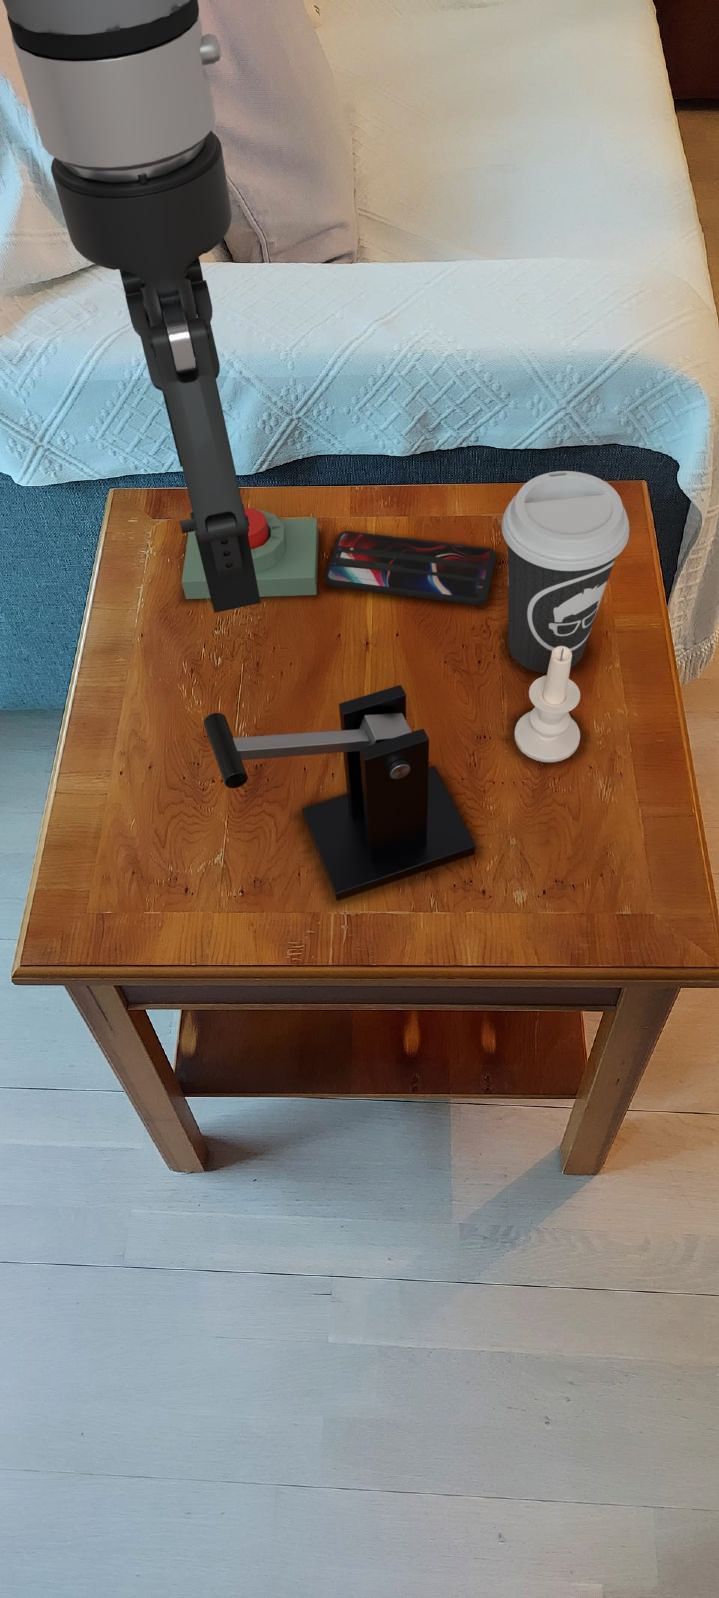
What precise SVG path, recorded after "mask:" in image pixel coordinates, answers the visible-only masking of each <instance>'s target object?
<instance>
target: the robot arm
mask: <svg viewBox="0 0 719 1598" xmlns="http://www.w3.org/2000/svg"><path fill="white" fill-rule="evenodd" d="M2 2H3V5H4V7H5V10H6V17H7V22H8V25H9V27H10V32H11V42H12V45H13V49H14V52H15V56H16V59H17V62H18V66H19V70H20V72H21V76H22V79H23V83H24V87H25V89H26V90H25V91H26V93H27V96H28V101H29V104H30V108H31V110H32V114H33V118H34V120H35V124H36V129H37V131H38V134H39V137H40V142H41V145H42V147H43V148H44V150H45V151H46V152H47V153H48V154H49V155H50V156H52V157H53V159H52V161H51V166H50V172H51V176H52V180H53V183H54V187H55V191H56V193H57V196H58V201H59V204H60V207H61V211H62V214H63V218H64V221H65V225H66V228H67V231H68V235H69V239H70V241H71V244H72V245H73V247H74V249H75V250H76V251H77V252H78V254H80V255H81V256H82V257H83V258H84V259H85V260H87V261H89V262H90V263H92V264H94V265H97V266H99V267H102V268H104V269H108V270H113V271H116V270H119V274H120V278H121V279H120V280H121V283H122V287H123V291H124V297H125V300H126V305H127V309H128V313H129V318H130V322H131V325H132V328H133V331H134V332H135V333H136V334H137V335H138V336H139V337H140V341H141V345H142V349H143V353H144V359H145V362H146V365H147V370H148V374H149V378H150V381H151V383H152V386H153V387H154V388H155V389H156V390H159V391H161V393H162V397H163V400H164V405H165V408H166V412H167V417H168V421H169V425H170V429H171V433H172V438H173V442H174V446H175V450H176V454H177V459H178V463H179V466H180V467H181V468H182V472H183V477H184V481H185V485H186V489H187V493H188V494H187V495H188V497H189V498H188V499H189V502H190V506H191V510H192V511H191V512H190V513H189V515H190V518H188V519H184V520H179V525H180V529H181V534H188V533H189V532H193V531H194V532H195V536H196V540H197V544H198V548H199V552H200V556H201V560H202V564H203V569H204V573H205V577H206V581H207V585H208V589H209V593H210V597H211V598H210V602H211V605H212V609H213V613H214V614H217V613H220V612H225V611H226V612H227V611H231V610H235V609H239V608H243V607H244V608H245V607H248V606H253V605H259V604H261V603H262V602H261V597H260V596H259V591H258V585H257V580H256V575H255V569H254V564H253V559H252V553H251V548H250V542H249V537H248V531H249V527H248V526H250V524H249V519H248V516H246V514H244V513H245V510H244V509H245V506H244V503H243V500H242V495H241V491H240V490H241V489H240V486H239V481H238V477H237V471H236V466H235V462H234V457H233V451H232V449H231V444H230V443H231V442H230V439H229V434H228V428H227V425H226V421H225V415H224V410H223V406H222V400H221V397H220V392H219V386H218V383H217V379H218V377H219V375H220V372H221V365H220V359H219V355H218V350H217V346H216V341H215V337H214V332H213V328H212V323H211V322H212V319H213V304H212V299H211V295H210V291H209V290H210V289H209V286H208V282H207V280H206V279H204V276H203V275H204V274H203V270H202V266H201V265H202V264H201V261H200V257H201V256H202V255H204V254H208V253H210V252H211V251H213V250H214V249H215V247H217V246H218V245H219V244H220V243H221V242H222V241H223V239H224V238H225V237H226V235H227V233H228V231H229V229H230V227H231V223H232V217H233V215H232V214H233V213H232V206H231V205H232V204H231V199H230V192H229V186H228V180H227V173H226V172H227V171H226V167H225V166H226V165H225V161H224V153H223V148H222V147H223V146H222V143H221V141H220V139H219V137H218V136H217V134H216V133H214V132H213V131H212V129H213V128H214V126H215V122H216V118H217V115H216V110H215V103H214V96H213V89H212V84H211V79H210V75H209V73H208V72H207V70H206V69H205V67H204V66H208V65H213V64H215V63H217V62H219V61H220V60H221V57H222V49H221V44H220V42H219V40H218V38H217V36H216V35H215V34H211V33H206V34H204V35H203V26H202V20H201V17H200V6H199V5H200V4H199V0H2Z"/></svg>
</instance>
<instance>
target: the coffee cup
mask: <svg viewBox="0 0 719 1598" xmlns="http://www.w3.org/2000/svg"><path fill="white" fill-rule="evenodd" d="M500 528H501V534H502V536H503V538H504V541H505V543H506V544H507V643H508V644H507V645H508V651H509V653H510V655H511V656H512V658H513V660H514V661H516V662H517V663H518V664H519V665H520V666H522V667H523V668H525V669H527V670H530V671H532V672H535V673H541V674H547V672H548V667H549V663H550V659H551V654H552V651H553V649H555V648H556V647H558V646H565V647H567V648H569V649H570V651H571V653H572V659H571V667H570V669H571V668H573V667H575V666H576V665H577V664H578V663H579V662H580V660H581V659H582V657H583V656H584V652H585V650H586V646H587V644H588V641H589V638H590V634H591V632H592V628H593V625H594V623H595V620H596V617H597V613H598V611H599V608H600V605H601V601H602V599H603V597H604V593H605V590H606V587H607V584H608V581H609V578H610V575H611V572H612V569H613V567H614V564H615V561H616V558H617V557H618V556H619V555H621V553H622V552H623V550H624V549H625V548H626V546H627V544H628V542H629V538H630V531H631V530H630V521H629V517H628V513H627V510H626V508H625V506H624V505H623V501H622V498H621V496H620V495H619V493H618V491H617V490H616V489H615V488H614V487H612V485H611V484H609V483H608V482H607V481H605V480H603V479H601V478H600V477H597V476H594V475H592V474H589V473H585V472H580V471H575V470H574V471H572V470H559V471H558V470H557V471H551V472H546V473H542V474H540V475H537V476H535V477H533V478H531V479H530V480H528V481H527V482H526V483H524V484H523V485H522V487H520V489H519V490H518V492H517V493H516V494H515V495H514V496H513V497H512V499H511V500H510V501H509V502H508V505H507V506H506V509H505V511H504V513H503V516H502V519H501V527H500Z"/></svg>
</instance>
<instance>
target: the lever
mask: <svg viewBox="0 0 719 1598" xmlns="http://www.w3.org/2000/svg"><path fill="white" fill-rule="evenodd" d="M203 727H204V729H205V733H206V735H207V738H208V741H209V743H210V746H211V749H212V752H213V755H214V757H215V760H216V764H217V766H218V769H219V772H220V775H221V777H222V780H223V783H224V785H225V787H226V788H229V789H237V788H240V787H242V786H244V785H245V784H246V783H247V781H248V780H249V776H248V773H247V771H246V768H245V765H244V763H243V761H248V760H249V761H250V760H251V761H252V760H264V759H275V758H288V757H289V758H290V757H300V756H313V755H314V756H315V755H324V754H326V755H327V754H338V753H343V752H352V751H360V748H363V747H366V746H369V745H373V744H376V743H379V742H382V741H385V740H388V739H392V738H395V737H398V736H401V735H404V734H407V733H411V732H412V730H411V728H410V726H409V724H408V722H407V719H406V720H405V718H404V716H403V714H402V713H391V714H375V715H365V716H364V718H363V720H362V723H361V725H360V728H359V729H354V730H341V729H339V730H328V731H327V730H326V731H311V732H298V733H283V734H267V735H255V736H241V737H240V736H239V737H234V736H233V733H232V731H231V728H230V724H229V723H228V720H227V717H226V716H225V714H224V713H221V712H213V713H210V714H208V715H207V716H205V718H204V720H203Z"/></svg>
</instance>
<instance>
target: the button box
mask: <svg viewBox="0 0 719 1598" xmlns="http://www.w3.org/2000/svg"><path fill="white" fill-rule="evenodd" d="M257 510H258V511H260V512H262V513H263V514H264V516H265V517H266V522H267V528H268V539H267V541H266V542H265V543H264V544H263V545H262V546H259V547H257V548H255V549H251V553H252V559H253V564H254V569H255V575H256V580H257V585H258V591H259V596H260V598H265V597H267V598H269V597H295V596H296V597H297V596H300V597H301V596H317V594H318V573H319V572H318V571H319V540H320V539H319V538H320V536H319V535H320V534H319V525H318V518H317V517H303V518H302V517H301V518H300V517H299V518H279V517H277V515H276V514H273V513H271V512H267V511H265V510H263V509H257ZM181 575H182V576H181V585H182V589H183V593H184V596H185V599H186V600H203V599H204V600H205V599H211V597H210V593H209V589H208V585H207V581H206V577H205V573H204V569H203V564H202V560H201V556H200V552H199V548H198V544H197V540H196V536H195V532H194V531H193V532H188V533H187V541H186V549H185V556H184V562H183V569H182V574H181Z"/></svg>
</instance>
